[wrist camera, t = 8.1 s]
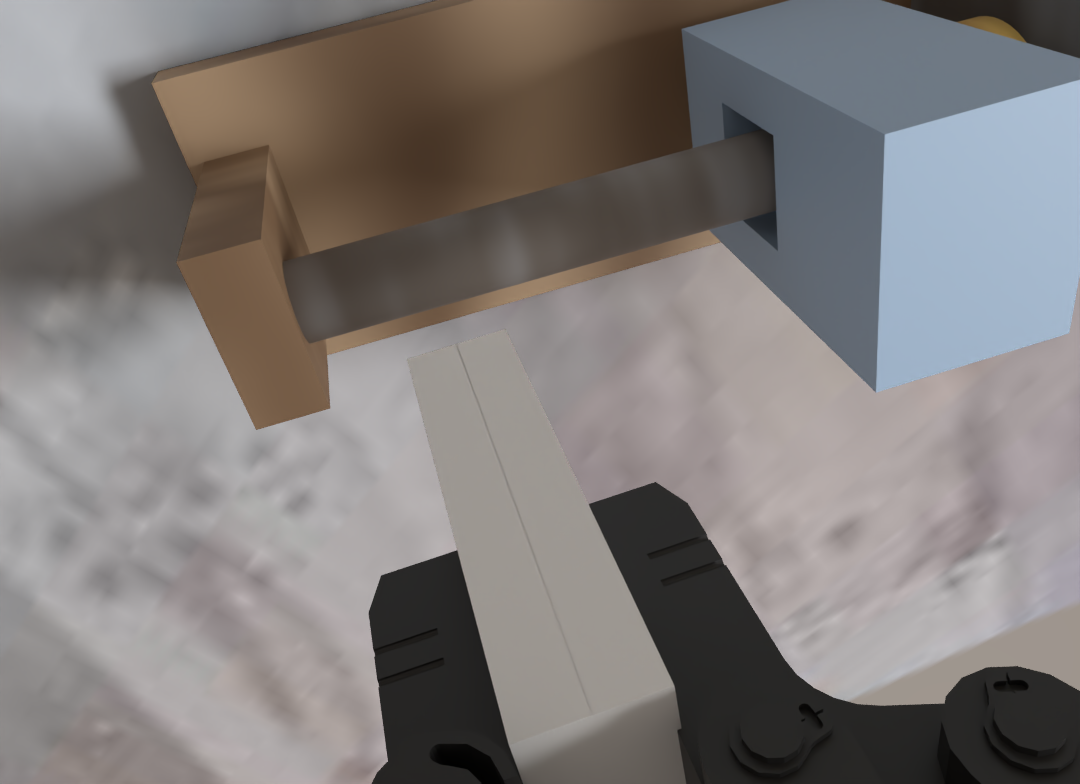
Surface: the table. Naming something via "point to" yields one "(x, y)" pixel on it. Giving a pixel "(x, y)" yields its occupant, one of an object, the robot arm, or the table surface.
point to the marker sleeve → (900, 178)
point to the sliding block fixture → (459, 168)
